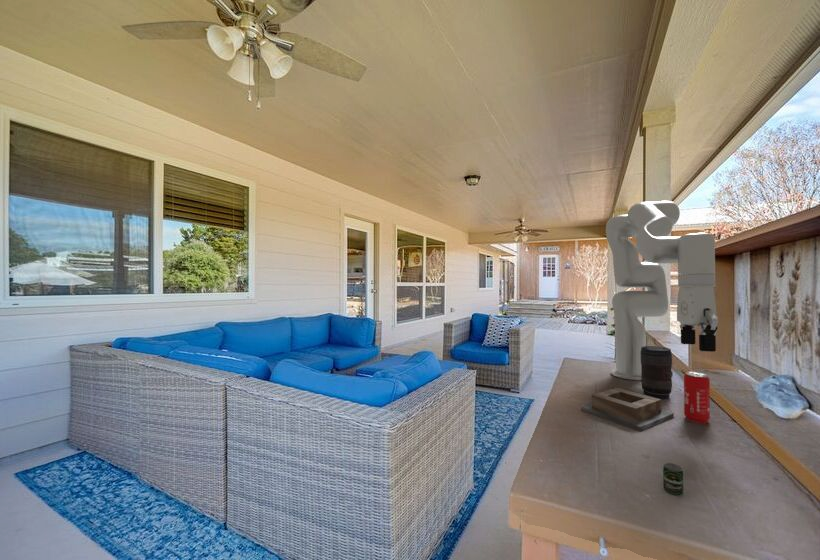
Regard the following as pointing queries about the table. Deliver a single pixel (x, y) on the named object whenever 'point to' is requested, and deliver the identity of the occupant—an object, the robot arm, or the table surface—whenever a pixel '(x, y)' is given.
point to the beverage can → (697, 397)
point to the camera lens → (656, 371)
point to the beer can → (673, 479)
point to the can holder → (627, 408)
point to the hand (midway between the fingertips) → (697, 347)
